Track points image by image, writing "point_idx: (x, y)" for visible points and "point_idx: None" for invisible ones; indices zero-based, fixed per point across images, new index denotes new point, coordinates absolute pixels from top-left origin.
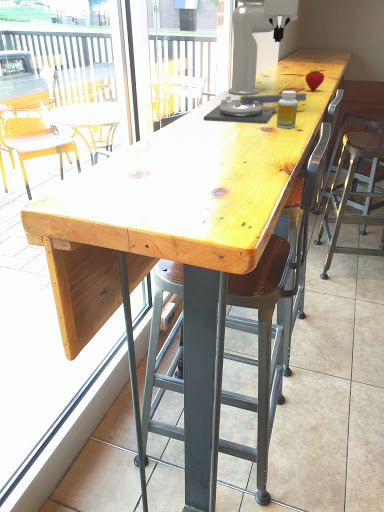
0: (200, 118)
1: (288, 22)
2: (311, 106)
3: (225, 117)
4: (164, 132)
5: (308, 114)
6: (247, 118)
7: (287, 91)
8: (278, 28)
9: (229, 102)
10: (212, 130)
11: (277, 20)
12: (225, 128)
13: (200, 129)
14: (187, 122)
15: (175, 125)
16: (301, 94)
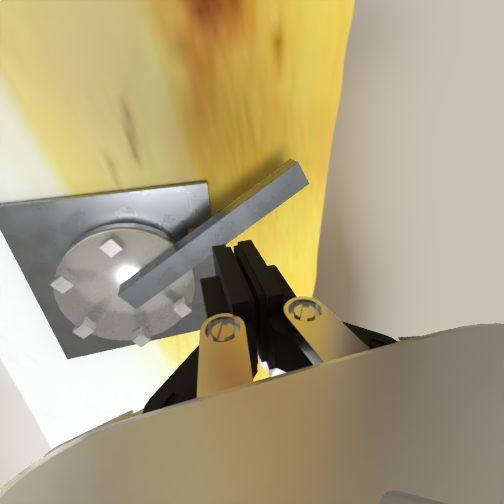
0: (48, 343)
1: (365, 339)
2: (306, 72)
3: (124, 342)
4: (62, 443)
5: (300, 201)
6: (178, 329)
7: (282, 372)
8: (256, 348)
9: (82, 291)
10: (141, 397)
11: (251, 378)
12: (157, 378)
13: (114, 403)
14: (46, 381)
15: (41, 408)
16: (295, 193)
